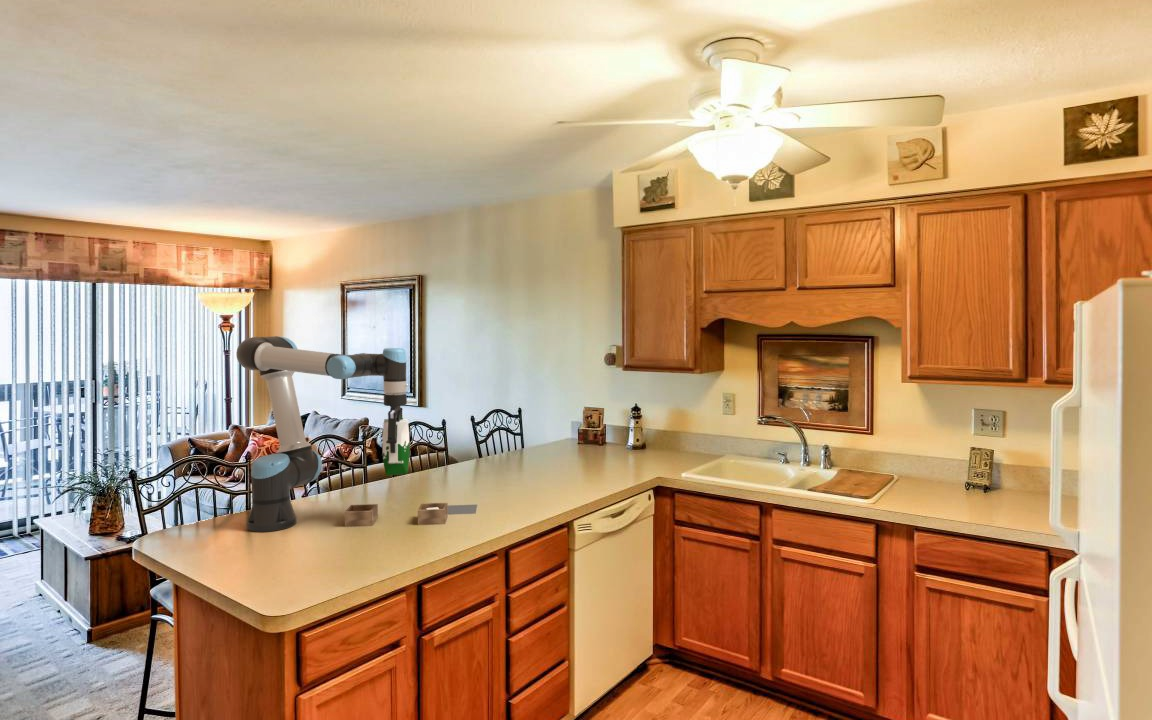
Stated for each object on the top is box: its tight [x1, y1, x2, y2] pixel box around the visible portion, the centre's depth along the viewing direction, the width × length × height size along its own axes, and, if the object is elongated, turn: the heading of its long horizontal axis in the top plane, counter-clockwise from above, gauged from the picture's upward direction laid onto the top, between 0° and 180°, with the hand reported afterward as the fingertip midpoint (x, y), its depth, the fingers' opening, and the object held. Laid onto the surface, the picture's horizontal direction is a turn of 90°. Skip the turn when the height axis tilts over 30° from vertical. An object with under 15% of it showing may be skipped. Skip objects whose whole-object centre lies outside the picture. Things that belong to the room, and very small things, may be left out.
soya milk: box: [381, 416, 410, 476], centre depth 223 cm, size 9×9×20 cm
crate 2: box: [417, 502, 449, 526], centre depth 224 cm, size 9×9×6 cm
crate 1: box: [343, 503, 379, 528], centre depth 222 cm, size 9×9×6 cm
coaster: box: [448, 504, 478, 516], centre depth 238 cm, size 12×12×1 cm
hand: (396, 459), depth 223 cm, fingers closed on soya milk, 9 cm apart
